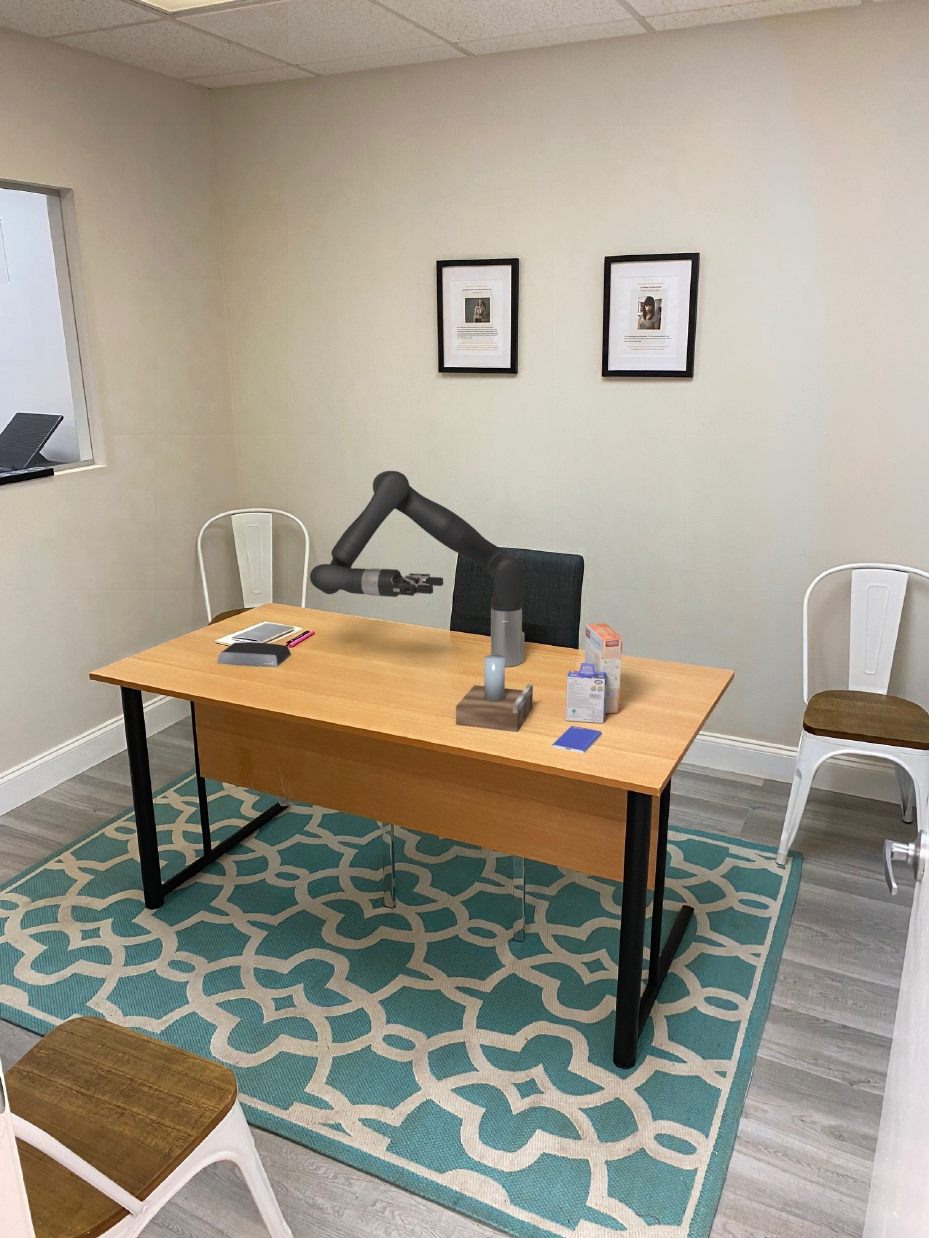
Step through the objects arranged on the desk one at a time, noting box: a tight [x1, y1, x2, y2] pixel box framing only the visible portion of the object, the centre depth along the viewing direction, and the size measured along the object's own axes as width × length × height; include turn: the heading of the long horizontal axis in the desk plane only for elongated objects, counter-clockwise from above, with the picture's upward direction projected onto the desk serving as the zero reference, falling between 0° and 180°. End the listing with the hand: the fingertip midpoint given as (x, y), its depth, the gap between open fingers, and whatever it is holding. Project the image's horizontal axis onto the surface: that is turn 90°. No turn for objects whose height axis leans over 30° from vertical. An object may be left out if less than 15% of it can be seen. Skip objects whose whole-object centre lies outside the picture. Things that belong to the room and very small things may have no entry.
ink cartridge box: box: [565, 662, 606, 724], centre depth 239 cm, size 10×6×14 cm, turn 78°
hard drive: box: [551, 725, 603, 754], centre depth 228 cm, size 2×8×12 cm
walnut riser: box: [455, 683, 534, 733], centre depth 242 cm, size 16×16×7 cm
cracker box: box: [583, 622, 623, 715], centre depth 247 cm, size 14×6×21 cm, turn 9°
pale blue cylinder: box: [483, 654, 506, 702], centre depth 240 cm, size 5×5×11 cm
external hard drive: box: [216, 641, 292, 668], centre depth 287 cm, size 13×19×4 cm
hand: (437, 585), depth 252 cm, fingers open, 8 cm apart
